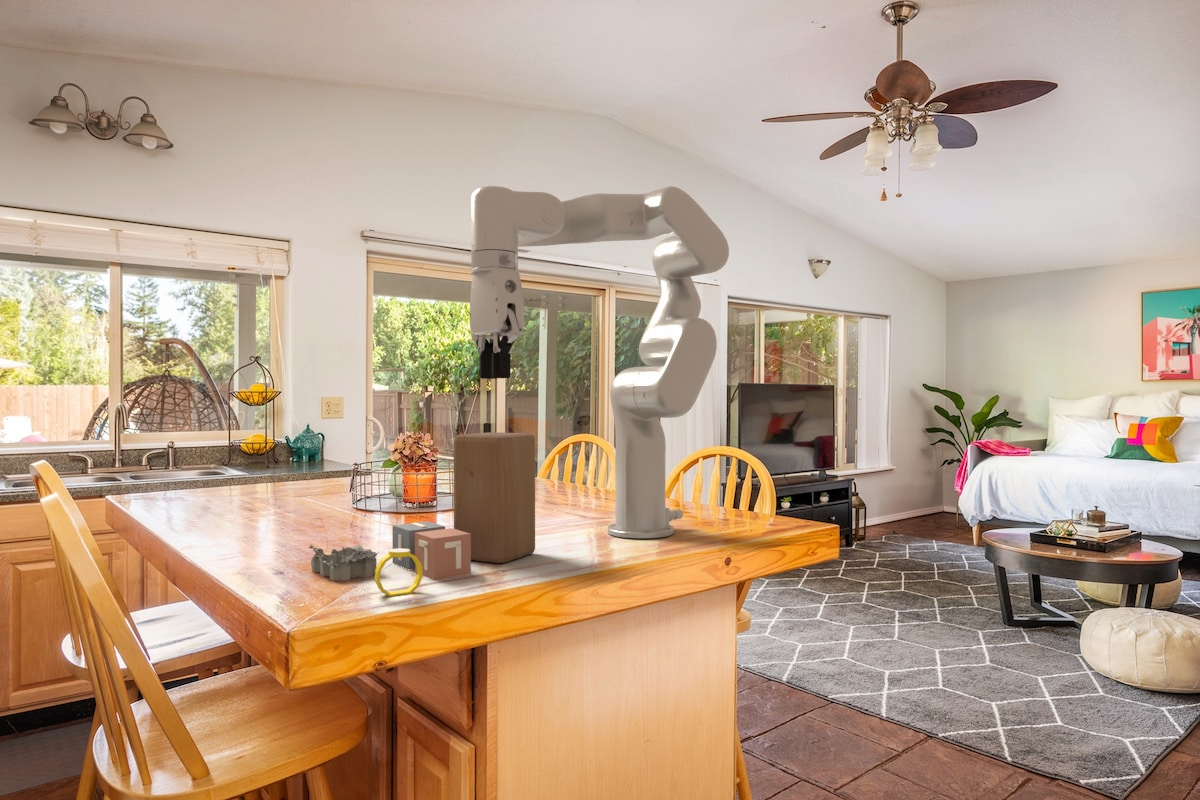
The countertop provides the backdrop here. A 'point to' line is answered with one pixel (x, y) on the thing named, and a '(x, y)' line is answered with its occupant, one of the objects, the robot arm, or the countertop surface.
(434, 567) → the terracotta cube seven
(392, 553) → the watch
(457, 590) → the countertop surface
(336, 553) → the egg carton
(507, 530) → the wooden block
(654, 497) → the robot arm
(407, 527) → the slate cube one
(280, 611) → the countertop surface
